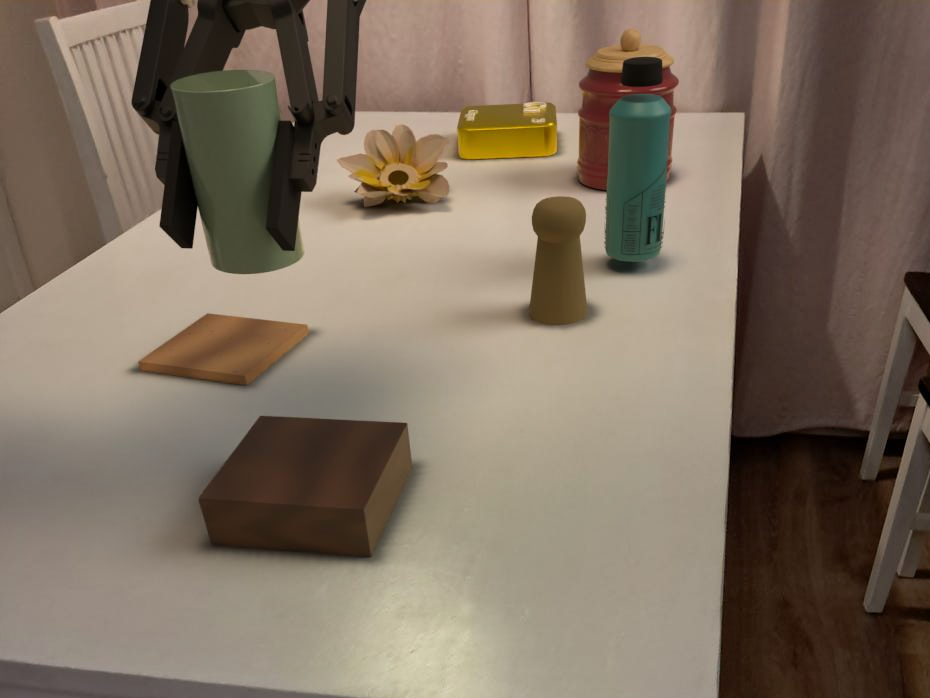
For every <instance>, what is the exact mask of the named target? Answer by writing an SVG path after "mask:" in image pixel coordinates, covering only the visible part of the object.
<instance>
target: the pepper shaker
mask: <svg viewBox="0 0 930 698" xmlns="http://www.w3.org/2000/svg"><path fill="white" fill-rule="evenodd" d="M586 223H587V211H586V208H585V206H584V204H583V203H582V201H581V200H579V199H577V198H575V197H571V196H566V195H565V196H563V195H560V196H559V195H558V196H549V197H546V198H543V199H541V200H540V201H538V202H537V203H536V204H535V206H534V208H533V210H532V214H531V226H532V230H533V232H534V233H535V235H536V236H537V239H536V248H535V249H536V250H535V258H534V267H533V275H532V284H531V292H530V300H529V308H528V316H529V318H530V319H531V320H532V321H534V322H536V323H539V324H542V325H548V326H566V325H572V324H575V323H578V322H580V321H582V320H584V319H585V318H586V317H587V316H588V304H587V303H588V302H587V293H586V283H585V275H584V273H585V271H584V263H583V254H582V244H581V243H582V242H581V235H582V233H583V232H584V231H585V228H586V227H585V226H586Z"/></svg>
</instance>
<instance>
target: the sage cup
mask: <svg viewBox="0 0 930 698" xmlns="http://www.w3.org/2000/svg"><path fill="white" fill-rule="evenodd" d="M170 89H171V94H172V98H173V102H174V107H175V111H176V115H177V119H178V124H179V128H180V132H181V137H182V141H183V145H184V149H185V154H186V158H187V162H188V167H189V171H190V175H191V179H192V184H193V188H194V192H195V196H196V201H197V205H198V208H197V210H198V213H199V218H200V222H201V227H202V231H203V235H204V240H205V243H206V247H207V251H208V256H209V260H210V264H211V266H212V267H213V269H215V270H217V271H219V272H222V273H225V274H233V275H256V274H257V275H258V274H265V273H270V272H275V271H278V270H282V269H285V268H288V267H291V266H292V265H295V264H296V263H298V262H299V261H300V260H302V259H303V258H304V256H305V247H304V242H303V241H304V240H303V235H302V229H301V224H300V217H299V218H298V227H297V235H296V244H295V251H283V250H282V249H281V248H280V246H279V245H278V244H277V242H276V241H275V240H274V239H273V237H272V236H271V235H270V234H269V232H268V231H267V230H266V220H267V212H268V204H269V195H270V187H271V178H272V170H273V162H274V153H275V145H276V136H277V128H278V121H284V120H283V115H282V110H281V103H280V96H279V91H278V85H277V79H276V75H275V74H274V73H273V72H270V71H266V70H260V69H226V70H223V71H215V72H208V73H201V74H196V75H192V76H188V77H184V78H181V79H178V80H176V81H174V82H173V83H171V85H170Z"/></svg>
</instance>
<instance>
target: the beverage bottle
mask: <svg viewBox="0 0 930 698" xmlns="http://www.w3.org/2000/svg"><path fill="white" fill-rule="evenodd" d="M662 81H663V74H662V60H661V59H660V58H656V57H634V58H629V59H626V60H625V61H624V62H623V67H622V75H621V84H622V85H624V86H629V87H649V86H655V85H659V84H661V83H662ZM670 115H671V108H670V106H669V105H668V104H667V102H666V101H665V100H664V99H663V98H662V97H661V96H659V95H654V94H632V95H626V96H623V97H621V98H620V99H619V100H618V101H617V102H616V103H615V104H614V105H613V107H612V108H611V109H610V112H609V117H610V125H609V155H608V175H607V176H608V178H607V190H606V191H605V192H606V193H605V194H606V196H605V197H606V198H605V201H604V203H605V204H604V205H605V207H604V214H605V221H604V224H605V225H604V226H603V227H604V233H603V234H604V235H603V238H604V240H603V244H604V250H605V253H606V255H607V256H608V257H609V258H611V259H614V260H617V261H621V262H643V261H648V260H652V259H654V258H656V257H658V256H659V255H660V253H661V250H662V248H663V246H662V245H663V244H664V241H663V240H664V234H665V229H664V224H665V222H666V221H665V219H664V218H665V211H666V209H665V208H666V206H665V204H666V202H667V200H666V199H667V197H666V196H667V195H666V191H667V181H666V175H667V165H669V164H667V161H668V145H669V143H668V141H669V126H670ZM669 150H670V148H669ZM605 186H606V185H605Z"/></svg>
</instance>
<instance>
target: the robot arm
mask: <svg viewBox="0 0 930 698" xmlns="http://www.w3.org/2000/svg"><path fill="white" fill-rule="evenodd" d="M310 2H311V0H197V4H196V9H197V17H196V19H195V21H194V24H193V26H192V28H191V30H190V32H189V35H188V37H187V34H188V28H189V23H190V21H189V20H190V13H189V9H192V8H193V7H195V0H150V1H149V6H148V11H147V12H148V13H147V16H146V22H145V28H144V33H143V38H142V44H141V48H140V54H139V59H138V65H137V69H136V74H135V78H134V79H135V80H134V85H133V91H132V96H131V103H130V104H131V106H132V109H133V110H134V111H135V112H136V113H137V114H138V116H140V118H141V119H142V120H143V121H144V122H145V124H146V125H147V126H148V127H149V128H150V129H151V131H152V132H153V133H154V134H156V135H158V142H157V147H156V150H157V151H156V156H155V157H156V159H155V166H154V172H155V176H156V179H158V180H159V182H160V183H161V184H162V185H163V194H162V200H161V201H162V202H161V208H160V209H161V210H160V219H159V225H158V227H159V228H160V229H161V230H162V231H163V232H164V233H165V234H166V235H167V236H168V237H169V238H170V239H171V240H172V241H173V242H174V243H175V244H177V246H178V247H179V248H180V249H188V250H189V249H193V247H194V239H195V231H196V223H197V216H198V215H197V214H198V205H197V201H196V196H195V192H194V188H193V184H192V179H191V175H190V171H189V167H188V162H187V158H186V154H185V149H184V145H183V141H182V137H181V132H180V128H179V124H178V119H177V115H176V111H175V107H174V102H173V98H172V94H171V89H170V85H171V83H173V82H174V81H176V80H178V79H181V78H184V77H188V76H192V75H196V74H201V73H208V72H215V71H224V69H225V68H226V67H225V66H226V64H227V62H228V60H229V57H230V55H231V53H232V50H233V49H237V48H239V46H240V45H241V43H242V40H243V38H244V35H245V33H246V32H247V31H250V30H253V29H256V28H261V27H263V28H267V29H271V30H275V33H276V37H277V43H278V48H279V53H280V58H281V62H282V63H281V64H282V69H283V73H284V79H285V84H286V90H287V95H288V100H289V105H287V108H288V111H289V113H290V114H291V116H292V117H293V119H294V123H292V121H291V120H283V121H278V128H277V136H276V145H275V153H274V162H273V170H272V178H271V187H270V195H269V204H268V212H267V220H266V230H267V231H268V232H269V234H270V235H271V236H272V237H273V239H274V240H275V241H276V242H277V244H278V245H279V246H280V248H281V249H282V250H283V251H295V244H296V235H297V227H298V218H299V219H300V210H301V209H300V208H301V199H302V193H313V191H314V190H315V188H316V186H317V180H318V174H319V165H320V155H321V148H322V143H323V142H324V140H325V139H326V138H328V137H329V136H330V135H334V134H336V133H337V134H339V135H342V136H346V135H349V134H350V133H352V132H353V130H354V129H355V123H356V102H357V81H358V64H359V63H358V62H359V43H360V42H359V41H360V40H359V39H360V23H361V22H360V21H361V15H362V12H363V10H364V8H365V5H366V2H367V0H327V1H326V2H327V3H326V21H325V23H326V24H325V42H324V58H323V59H324V60H323V61H324V63H323V80H322V100H319V95H318V94H319V93H318V90H317V85H316V79H315V75H314V74H315V73H314V69H313V64H312V59H311V54H310V49H309V44H308V42H309V40H310V39H309V34H308V30H307V24H306V19H305V15H304V9H305V7H306V6H307V5H308V4H309V3H310ZM186 39H187V40H186Z"/></svg>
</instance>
